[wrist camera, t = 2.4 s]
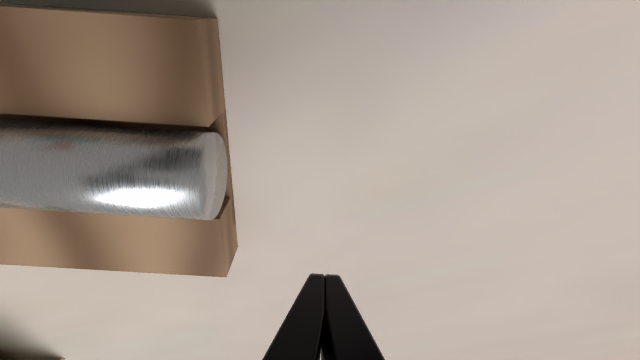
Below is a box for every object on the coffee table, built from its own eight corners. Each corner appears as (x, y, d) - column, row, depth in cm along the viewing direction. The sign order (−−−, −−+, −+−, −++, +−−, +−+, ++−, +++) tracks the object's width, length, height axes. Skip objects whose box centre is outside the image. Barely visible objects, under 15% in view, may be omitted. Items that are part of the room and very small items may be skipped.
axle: (223, 120, 15) (191, 154, 11) (229, 191, 17) (204, 239, 13) (-70, 101, 15) (-195, 130, 11) (-30, 175, 17) (-125, 219, 13)
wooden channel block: (217, 18, 13) (195, 20, 11) (237, 247, 19) (226, 277, 17) (-116, -5, 13) (-206, -9, 11) (13, 233, 19) (-28, 262, 17)
